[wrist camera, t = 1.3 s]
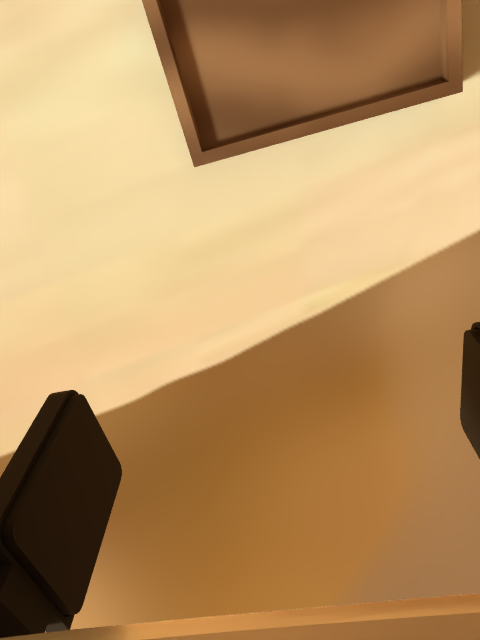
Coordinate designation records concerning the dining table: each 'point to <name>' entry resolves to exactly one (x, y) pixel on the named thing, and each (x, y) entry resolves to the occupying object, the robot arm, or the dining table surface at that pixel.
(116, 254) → the dining table surface
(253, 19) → the walnut tray
